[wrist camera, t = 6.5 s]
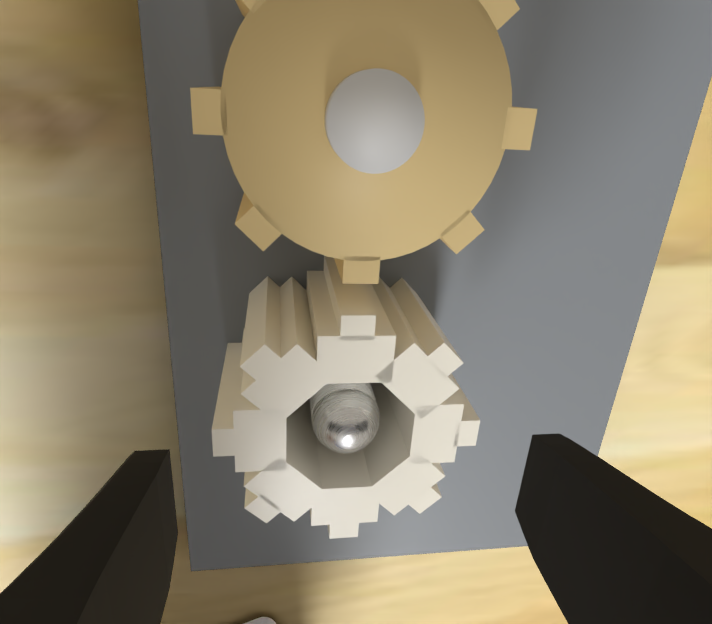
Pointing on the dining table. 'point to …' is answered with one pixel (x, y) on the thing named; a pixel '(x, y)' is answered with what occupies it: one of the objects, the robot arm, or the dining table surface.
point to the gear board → (477, 297)
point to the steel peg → (345, 416)
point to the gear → (333, 366)
